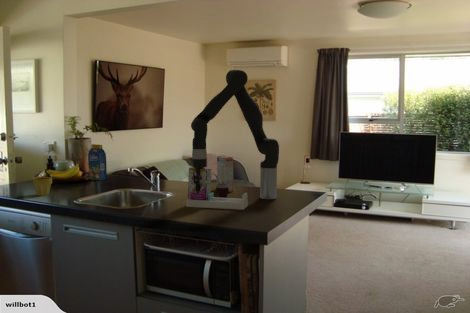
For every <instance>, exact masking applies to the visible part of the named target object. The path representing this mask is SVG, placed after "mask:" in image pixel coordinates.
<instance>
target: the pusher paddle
mask: <svg viewBox="0 0 470 313" xmlns="http://www.w3.org/2000/svg"><path fill="white" fill-rule="evenodd" d="M214 194H215V193H214V192H211V193H210V194H209V195H208V201H214V200H222V201H227V198H228V197H227V198H218V196H217V197H215V195H214Z"/></svg>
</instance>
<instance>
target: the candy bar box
mask: <svg viewBox="0 0 470 313" xmlns="http://www.w3.org/2000/svg"><path fill="white" fill-rule="evenodd" d="M195 170H196V168H195V167H193V166H191V167H188V182H187V184H188V186H187V187H188V188H187V193H188V194H187V200H190V199H195V200H207V201H208V195H209V194H210V193H212V190H211V188H212V168H208V167H204V168H201V169H200V176H201V180H200V191H196V184H195V183H194V179H193V172H195ZM200 176H199V178H200Z"/></svg>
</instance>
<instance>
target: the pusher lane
mask: <svg viewBox="0 0 470 313" xmlns="http://www.w3.org/2000/svg"><path fill="white" fill-rule="evenodd" d="M248 201H249V200H248V192H244V193H243V194H242V195H241V198H237V197H236V198H235V197H234V198H233V197H227V201H222V200H214V201H207V200H195V199H186V202H185V204H186V206H185V207H187V208H205V209H206V208H207V209H221V210H222V209H223V210H224V209H225V210H240V211H241V210H243V211H244V210H245V209H246V208H247V207H248V205H249V204H248V203H249V202H248Z"/></svg>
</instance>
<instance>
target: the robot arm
mask: <svg viewBox="0 0 470 313" xmlns="http://www.w3.org/2000/svg"><path fill="white" fill-rule="evenodd" d="M247 74H248V73H246V71H244V70H242V69H231V70H229V71H228V72H227V73H226V75H225V82H226V84H227V85H226V86H225V87H224V88H223V89H222V90H221V91H220V92H219V93H217V94H216V95H215V96H214V97H213V98H211V100H210V101H209V102H208V103H207V104H206V106H205V107H204V108H203V109H202V110H201V112H199V114H197V115H196V116H195V117H194V118H193V120H191V123H190V128H191V130H192V131H193V134H194V135H193V138H192V146H191V147H192V149H191V150H192V152H191V159H192V160H191V167H195V168H196V170H195V172H193V179H194V183H195V184H196V191H200V180H201V176H200V169H201V168H208V167H207V166H208V155H207V154H208V153H207V136H208V124H209V122H211V120H213V119H214V118H216V116H217V115H218V114H219V112H221V110H222V109H223V108H224V107H225V105H226V104H227V103H228V102H229V100H231V99H232V98H233V97H234V98H235V100H236V102H237V105H238V106H239V109H240V110H241V113H242V115H243V117H244V119H245V121H246V124H247V126H248V128H249V130H250V132H251V135H252V136H253V140H254V142H255V145H256V147H257V150H258V152H259V153H260V154H262V155H264V160H262V161H261V162H259V163H260V166H259V168H260V169H259V170H260V173H259V174H260V180H259V182H260V184H259V185H260V186H259V187H260V189H259V192H260V193H259V196H260V199H262V200H276V199H277V197H278V194H277V193H278V163H279V160H280V159H279V157H280V144H279V142H278V140H277V139H275V138H269V137H267V136H266V132H265V131H264V128H263V125H264V124H263V122H264V120H263V119H264V118H263V114H262V111H261V110H260V107H259V106H258V103H257V102H256V100H255V99H254V98H253V97H252V96H251V94H249V92H248V91H247V88H246V87H245V86H246V84H247V83H248V79H249V77H248V75H247ZM199 176H200V178H199Z"/></svg>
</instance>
